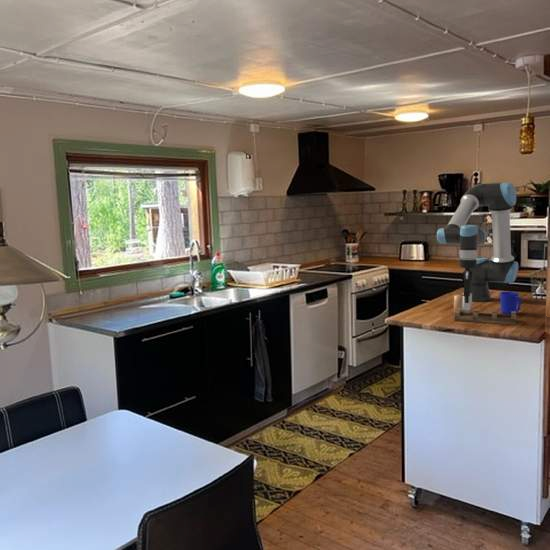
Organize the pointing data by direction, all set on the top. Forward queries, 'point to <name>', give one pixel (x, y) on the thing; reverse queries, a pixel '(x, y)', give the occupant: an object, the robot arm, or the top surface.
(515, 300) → the mug
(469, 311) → the plug grey
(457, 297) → the plug terracotta
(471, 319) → the comb rack
